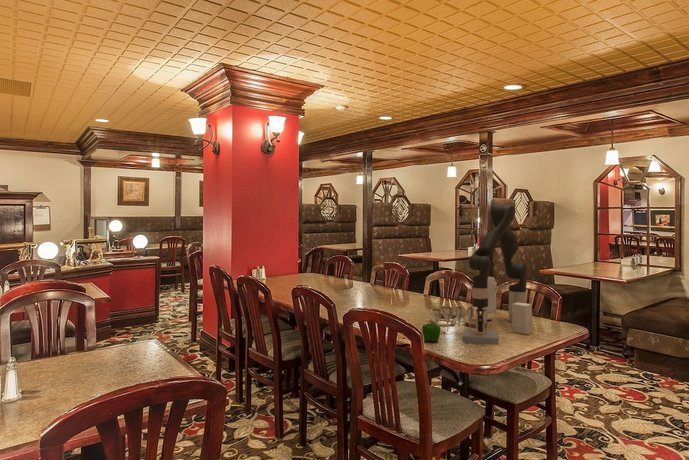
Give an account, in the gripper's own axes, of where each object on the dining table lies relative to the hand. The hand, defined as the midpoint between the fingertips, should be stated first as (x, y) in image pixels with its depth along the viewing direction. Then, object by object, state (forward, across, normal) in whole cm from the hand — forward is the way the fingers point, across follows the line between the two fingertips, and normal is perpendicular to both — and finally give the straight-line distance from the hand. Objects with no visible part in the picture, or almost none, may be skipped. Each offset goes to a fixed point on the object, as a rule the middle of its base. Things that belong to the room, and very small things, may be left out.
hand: (480, 329), depth 222 cm
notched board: (+5, +2, 0) cm, 5 cm away
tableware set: (+5, -35, -10) cm, 37 cm away
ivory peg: (+5, 0, 0) cm, 5 cm away
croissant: (+5, +18, -41) cm, 45 cm away
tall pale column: (+5, -62, +6) cm, 62 cm away
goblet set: (+5, -9, -10) cm, 14 cm away
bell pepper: (+5, +9, -23) cm, 25 cm away
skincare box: (+5, -17, +21) cm, 27 cm away
